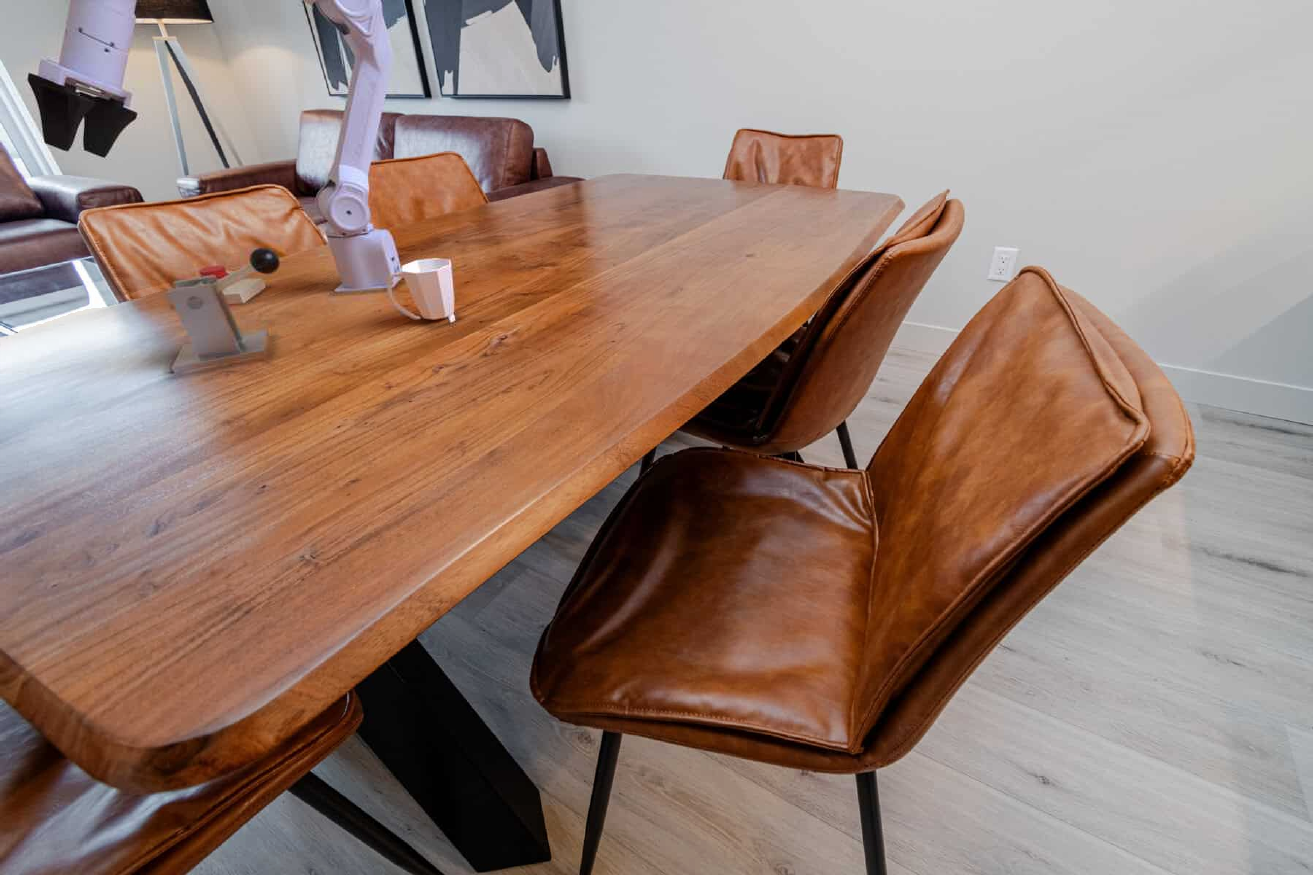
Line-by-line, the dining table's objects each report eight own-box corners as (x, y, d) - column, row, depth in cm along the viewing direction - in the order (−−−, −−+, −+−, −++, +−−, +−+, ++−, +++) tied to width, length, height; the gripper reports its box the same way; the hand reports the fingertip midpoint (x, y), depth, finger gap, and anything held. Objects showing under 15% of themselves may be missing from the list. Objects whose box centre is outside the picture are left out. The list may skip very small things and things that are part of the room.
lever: (286, 262, 78) (267, 240, 76) (285, 269, 76) (265, 246, 74) (200, 309, 77) (179, 288, 75) (196, 317, 74) (174, 295, 72)
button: (233, 275, 100) (228, 264, 99) (221, 282, 97) (217, 271, 96) (210, 276, 100) (205, 266, 99) (198, 283, 97) (193, 273, 96)
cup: (455, 329, 83) (441, 272, 78) (386, 331, 84) (368, 274, 79) (472, 311, 89) (459, 256, 84) (407, 312, 90) (391, 259, 85)
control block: (266, 287, 104) (257, 267, 102) (243, 303, 97) (234, 282, 95) (206, 292, 103) (196, 272, 101) (179, 308, 96) (169, 287, 94)
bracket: (270, 337, 84) (241, 267, 78) (266, 358, 77) (234, 284, 72) (187, 353, 80) (150, 281, 75) (175, 376, 74) (135, 300, 69)
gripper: (94, 39, 79) (74, 142, 81) (13, 2, 65) (-8, 126, 68) (157, 68, 81) (136, 167, 84) (91, 37, 68) (68, 156, 71)
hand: (76, 151), depth 76 cm, fingers open, 7 cm apart
